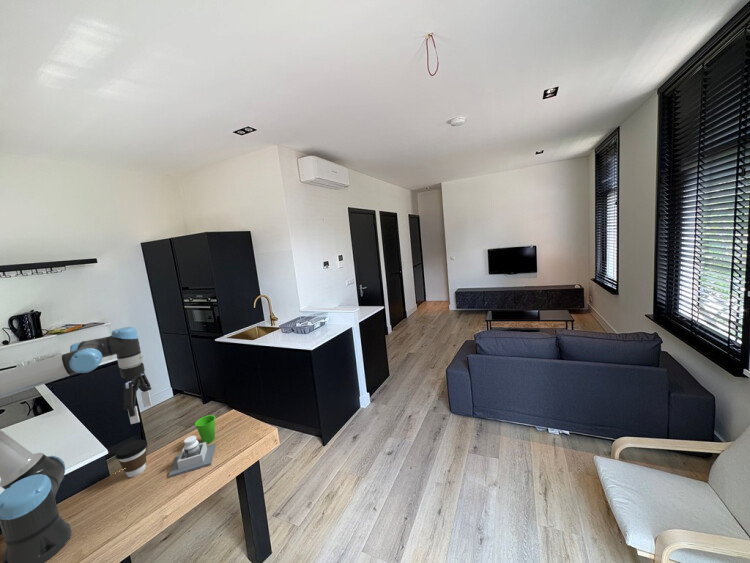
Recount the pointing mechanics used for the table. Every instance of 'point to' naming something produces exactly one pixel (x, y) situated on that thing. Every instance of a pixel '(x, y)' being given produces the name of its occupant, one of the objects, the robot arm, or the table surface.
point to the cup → (206, 428)
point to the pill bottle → (191, 446)
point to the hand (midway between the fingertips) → (141, 413)
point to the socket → (193, 460)
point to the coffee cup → (133, 457)
